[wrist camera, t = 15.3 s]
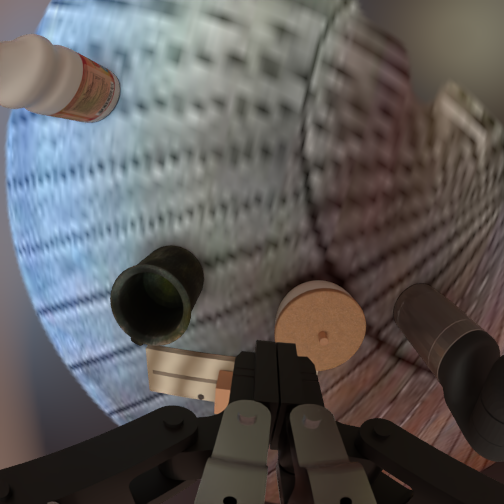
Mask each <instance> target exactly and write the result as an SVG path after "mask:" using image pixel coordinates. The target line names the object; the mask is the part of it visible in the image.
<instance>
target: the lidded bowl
mask: <svg viewBox="0 0 504 504" xmlns="http://www.w3.org/2000/svg"><path fill="white" fill-rule="evenodd" d="M365 332H366V320H365V316H364V313H363V311H362V309H361V307H360V306H359V304H358V303H357V302H356V301H355V300H354V299H353V298H352V296H351V295H350V294H349V293H348V292H347V291H345V290H344V289H343V288H342V287H340V286H338V285H337V284H334V283H332V282H329V281H324V280H314V281H308V282H304V283H302V284H300V285H298V286H296V287H295V288H293V289H292V290H291V291H289V292H288V294H287V295H286V296H285V297H284V299H283V300H282V302H281V304H280V306H279V308H278V311H277V315H276V321H275V343H276V342H284V343H295V344H296V349H297V355H298V356H305V357H308V358H309V359H310V360H311V361H312V362H313V363H314V364H315V368H316V371H322V370H327V369H331V368H334V367H337V366H339V365H340V364H342V363H344V362H345V361H347V360H348V359H350V358H351V357H352V356H353V355H354V354H355V352H356V351H357V350H358V349H359V347H360V345H361V344H362V341H363V339H364V336H365Z"/></svg>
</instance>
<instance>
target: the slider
mask: <svg viewBox="0 0 504 504" xmlns="http://www.w3.org/2000/svg"><path fill="white" fill-rule="evenodd" d="M232 376H233V372H230V371H221V370H219V375H218V379H217V384H216V391H215V412H214V414H219V413H220V412H222V411H223V410H225V408H226V407H227V405H228V403H229V397H230V390H231V383H232Z"/></svg>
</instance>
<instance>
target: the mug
mask: <svg viewBox="0 0 504 504" xmlns="http://www.w3.org/2000/svg"><path fill="white" fill-rule="evenodd" d="M203 282H204V277H203V271H202V268H201V265H200V264H199V262H198V260H197V259H196V258H195V257H194V256H193V255H192V254H191V253H190V252H189V251H187V250H185V249H183V248H181V247H177V246H165V247H161V248H159V249H157V250H155V251H154V252H152V253H151V254H150V255H148V256H147V257H146V258H145V259H144V260H142V261H141V262H140V263H139V264H137V265H136V266H133V267H130V268H128V269H126V270H125V271H123V272H122V273H121V274H120V275H119V276H118V278H117V279H116V280H115V282H114V284H113V287H112V291H111V297H110V301H111V308H112V312H113V315H114V317H115V319H116V321H117V323H118V324H119V326H120V327H121V328H122V330H123V331H124V332H125V333H126V334H128V335H129V336H130V337H131V341H132V342H134V343H135V344H137V345H139V346H141V345H143V344H147V345H152V346H160V345H166V344H170V343H172V342H174V341H176V340H177V339H178V338H180V337H181V336H182V335H183V334H184V332H185V331H186V329H187V328H188V325H189V323H190V318H191V311H192V309H193V307H194V305H195V303H196V301H197V299H198V297H199V295H200V293H201V290H202V288H203Z"/></svg>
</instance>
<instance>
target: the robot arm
mask: <svg viewBox="0 0 504 504" xmlns="http://www.w3.org/2000/svg"><path fill="white" fill-rule="evenodd" d="M394 320H395V323H396V325H397V326H398V327H399V329H400V330H401V331H402V333H403V334H404V335H405V337H406V338H407V339H408V341H409V342H410V343H411V344H412V346H413V347H414V348H415V350H416V351H417V352H418V354H419V355H420V356H421V358H422V359H423V361H424V362H425V363H426V365H427V366H428V367H429V369H430V370H431V371H432V373H433V374H434V375H435V377H436V378H437V380H438V381H439V382H440V384H441V385H442V387H443V391H444V398H445V401H446V404H447V406H448V408H449V409H450V411H451V413H452V415H453V417H454V418H455V420H456V422H457V424H458V426H459V428H460V429H461V431H462V433H463V435H464V437H465V438H466V440H467V441H468V443H469V444H470V446H471V447H472V448H473V449H474V450H475V451H476V452H477V453H478V454H479V455H481V456H482V457H484V458H486V459H488V460H491V461H496V462H501V461H504V355H502V356H501V357H500V350H499V346H498V344H497V342H496V341H495V340H494V339H493V338H492V337H491V336H490V335H489V334H488V333H487V332H486V331H485V330H483V329H482V328H481V327H480V326H479V325H478V324H476V323H475V322H474V321H473V320H472V319H470V318H469V317H468V316H467V314H465V313H464V312H463V311H462V310H461V309H459V308H458V307H457V306H456V305H455V304H453V303H452V302H451V301H450V300H448V299H447V298H446V297H445V296H443V295H442V294H441V293H439V292H438V291H436V290H435V289H434V288H432V287H431V286H430V285H427V284H416V285H413V286H411V287H409V288H408V289H406V290H405V291H404V292H403V293H402V294H401V295H400V297H399V298H398V300H397V302H396V304H395V307H394ZM269 444H270V449H272V450H278V460H277V464H276V473H277V481H278V489H279V497H280V504H504V484H502V483H500V482H498V481H496V480H494V479H492V478H490V477H488V476H486V475H484V474H482V473H480V472H478V471H477V470H475V469H473V468H471V467H469V466H467V465H465V464H463V463H462V462H460V461H458V460H456V459H454V458H452V457H451V456H449V455H447V454H445V453H443V452H442V451H440V450H438V449H436V448H435V447H433V446H431V445H429V444H428V443H426V442H424V441H423V440H421V439H419V438H417V437H416V436H414V435H412V434H411V433H409V432H407V431H406V430H404V429H402V428H401V427H399V426H397V425H396V424H394V423H393V422H391V421H388V420H386V419H381V418H374V419H369V420H367V421H365V422H364V423H363V424H362V425H361V427H355V426H350V425H346V424H342V423H340V422H337V421H335V418H334V416H333V414H332V413H331V412H330V411H329V410H328V409H326V408H325V407H324V402H323V398H322V394H321V389H320V385H319V382H318V376H317V372H316V368H315V364H314V363H313V362H312V361H311V360H310V359H309V358H308V357H305V356H298V355H297V349H296V344H295V343H284V342H276V343H275V342H271V341H261V340H257V341H256V347H255V353H254V352H244V351H241V353H240V354H239V355H238V356H237V357H236V358H235V362H234V369H233V376H232V383H231V390H230V397H229V403H228V405H227V407H226V408H225V410H223V411H222V412H220V413H219V414H216V415H213V416H209V417H199V418H197V417H196V416H195V414H194V413H193V412H192V411H190V410H188V409H186V408H184V407H180V406H164V407H161V408H159V409H157V410H154V411H152V412H150V413H148V414H146V415H144V416H142V417H140V418H137V419H135V420H133V421H131V422H129V423H126V424H124V425H122V426H120V427H117V428H115V429H113V430H110V431H108V432H106V433H103V434H101V435H99V436H96V437H94V438H91V439H89V440H86V441H84V442H81V443H79V444H76V445H73V446H71V447H68V448H65V449H63V450H60V451H58V452H55V453H52V454H49V455H46V456H43V457H40V458H37V459H34V460H31V461H28V462H25V463H22V464H19V465H15V466H12V467H9V468H5V469H2V470H0V504H161V503H163V502H164V501H166V500H168V499H169V498H171V497H173V496H174V495H176V494H178V493H179V492H181V491H183V490H184V489H186V488H187V487H189V486H190V485H192V484H193V483H195V482H196V480H197V479H201V482H200V486H199V489H198V493H197V496H196V499H195V502H194V504H264V500H265V491H266V482H267V472H268V466H266V464H267V454H268V449H269ZM383 469H384V470H385V471H387V472H388V473H390V474H391V475H393V476H394V477H396V478H397V479H399V480H401V481H402V482H404V483H405V484H407V485H408V486H410V487H411V488H412V490H409V489H407V488H406V487H404V486H403V485H401V484H399V483H398V482H396V481H395V480H393V479H392V478H390V477H389V476H387V475H386V474H384V473H383V472H382V470H383Z"/></svg>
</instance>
